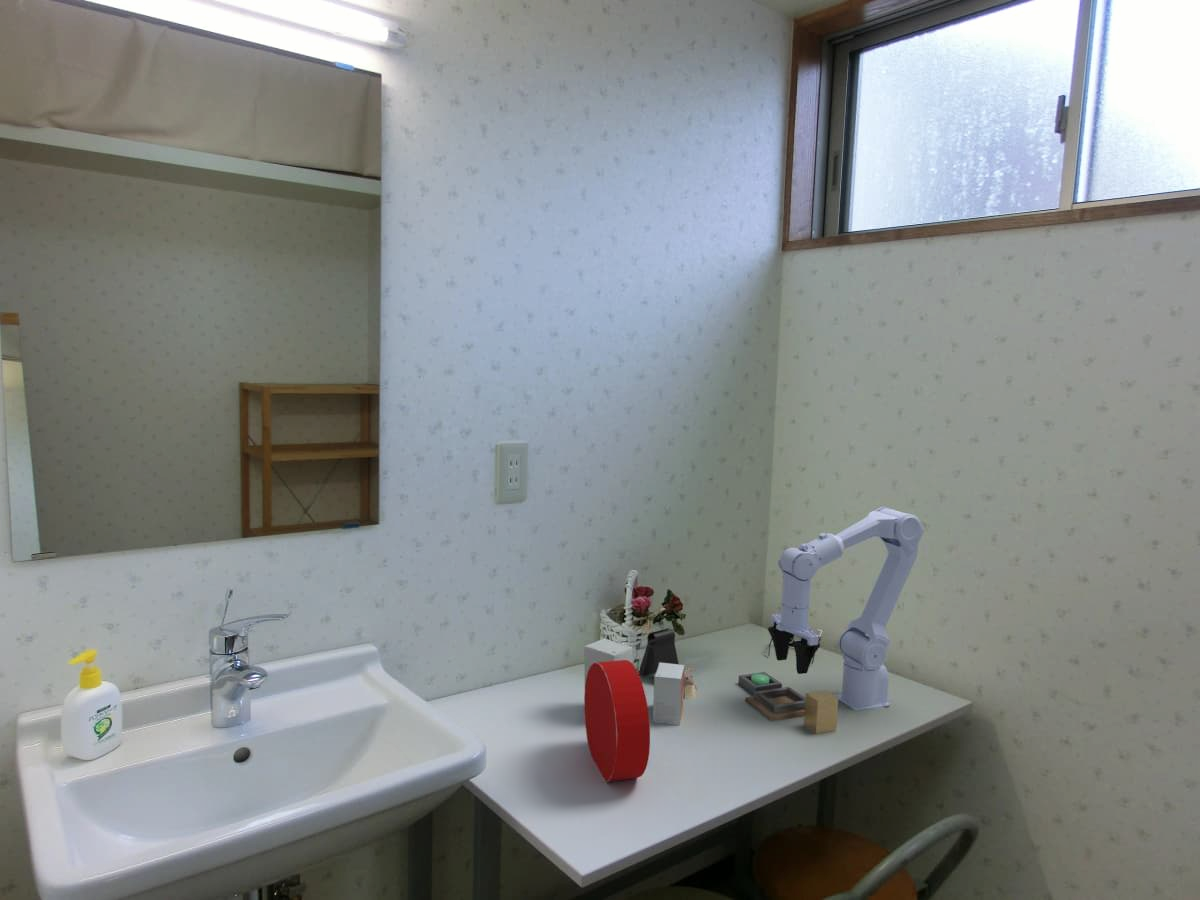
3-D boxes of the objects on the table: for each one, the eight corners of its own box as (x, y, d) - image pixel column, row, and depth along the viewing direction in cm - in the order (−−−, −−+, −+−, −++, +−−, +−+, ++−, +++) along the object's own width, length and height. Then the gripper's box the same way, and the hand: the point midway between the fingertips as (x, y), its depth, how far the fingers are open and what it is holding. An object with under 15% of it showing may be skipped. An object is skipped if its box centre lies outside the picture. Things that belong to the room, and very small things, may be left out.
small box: (679, 729, 155) (681, 679, 154) (652, 725, 157) (654, 676, 155) (683, 712, 163) (685, 664, 162) (657, 709, 164) (659, 661, 163)
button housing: (764, 680, 181) (764, 672, 181) (781, 693, 174) (782, 683, 174) (738, 684, 178) (738, 675, 178) (755, 697, 172) (755, 687, 172)
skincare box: (632, 720, 159) (635, 647, 157) (611, 730, 154) (613, 655, 152) (603, 707, 164) (605, 636, 163) (581, 716, 160) (583, 644, 158)
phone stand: (682, 684, 178) (684, 634, 176) (663, 690, 174) (665, 639, 173) (655, 671, 185) (657, 623, 183) (637, 677, 181) (638, 627, 180)
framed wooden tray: (790, 694, 174) (791, 684, 173) (819, 713, 164) (819, 702, 164) (745, 701, 169) (745, 690, 169) (771, 721, 160) (772, 710, 160)
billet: (823, 722, 161) (825, 690, 160) (836, 730, 157) (838, 697, 156) (803, 725, 159) (805, 693, 158) (815, 734, 155) (818, 701, 154)
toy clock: (647, 800, 129) (652, 686, 127) (614, 805, 128) (618, 689, 126) (612, 744, 148) (615, 643, 146) (582, 747, 147) (585, 646, 145)
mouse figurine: (677, 686, 177) (678, 658, 176) (702, 698, 170) (703, 669, 170) (660, 691, 173) (661, 662, 173) (685, 704, 167) (686, 674, 166)
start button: (762, 681, 179) (762, 672, 179) (772, 688, 175) (772, 679, 175) (747, 684, 177) (748, 674, 177) (757, 691, 174) (757, 681, 174)
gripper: (760, 596, 170) (757, 655, 171) (799, 617, 156) (795, 681, 158) (787, 594, 172) (784, 652, 174) (828, 614, 159) (824, 677, 160)
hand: (791, 666), depth 166 cm, fingers open, 7 cm apart
